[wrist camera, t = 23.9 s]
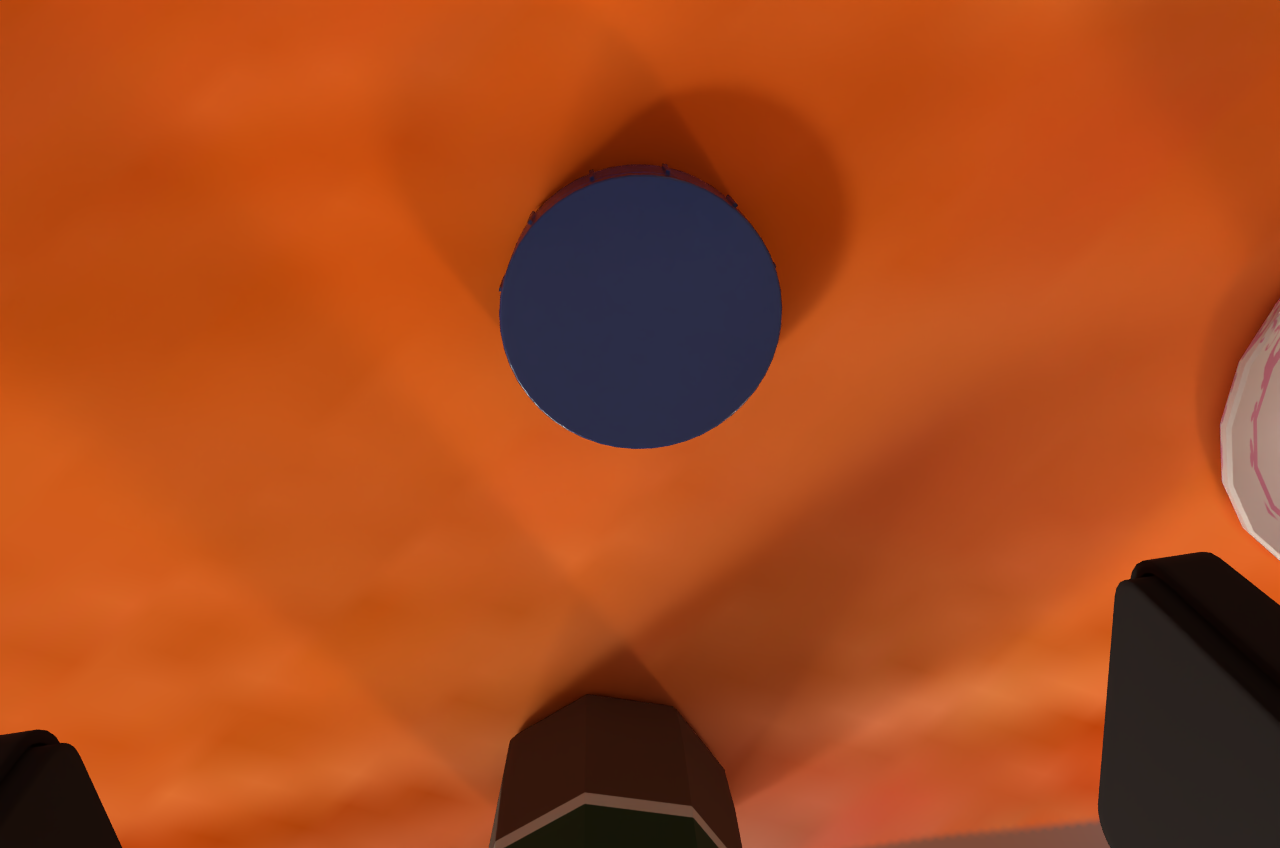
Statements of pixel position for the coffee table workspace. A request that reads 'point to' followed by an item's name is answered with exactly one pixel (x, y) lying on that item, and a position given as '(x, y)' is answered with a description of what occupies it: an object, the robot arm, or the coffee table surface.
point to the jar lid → (639, 307)
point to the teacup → (1255, 437)
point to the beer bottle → (613, 782)
